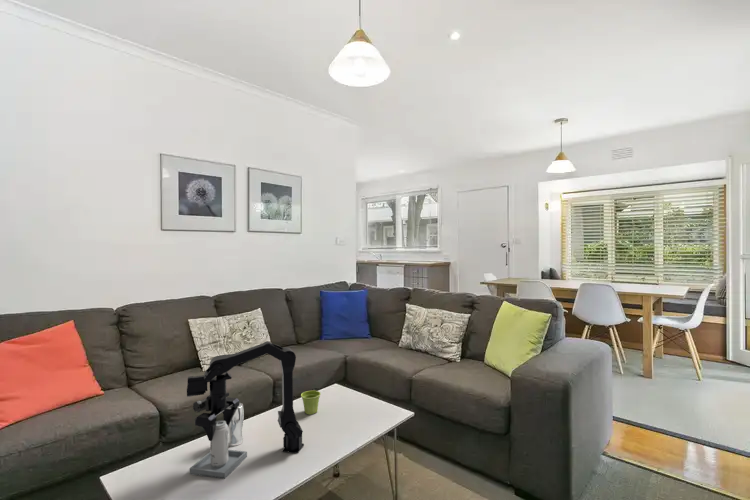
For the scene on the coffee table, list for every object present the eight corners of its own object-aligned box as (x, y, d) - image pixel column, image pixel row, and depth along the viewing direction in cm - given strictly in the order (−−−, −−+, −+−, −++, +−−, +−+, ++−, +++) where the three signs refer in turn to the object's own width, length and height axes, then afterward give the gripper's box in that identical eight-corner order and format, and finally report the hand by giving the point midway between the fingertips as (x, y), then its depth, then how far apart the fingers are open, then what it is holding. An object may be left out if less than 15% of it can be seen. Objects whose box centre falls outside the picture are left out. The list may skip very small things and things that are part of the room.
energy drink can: (210, 461, 140) (210, 421, 140) (228, 457, 142) (227, 418, 142) (210, 470, 134) (210, 428, 134) (228, 465, 137) (228, 424, 137)
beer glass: (238, 447, 151) (237, 410, 151) (222, 445, 152) (221, 408, 152) (247, 438, 157) (246, 403, 157) (232, 437, 159) (231, 401, 159)
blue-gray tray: (246, 456, 144) (246, 451, 144) (224, 478, 130) (224, 473, 130) (214, 453, 147) (214, 447, 147) (189, 474, 133) (189, 468, 133)
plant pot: (319, 416, 178) (318, 397, 178) (299, 416, 178) (299, 398, 178) (322, 407, 187) (322, 390, 187) (303, 407, 187) (303, 390, 187)
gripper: (214, 381, 149) (215, 421, 149) (180, 400, 131) (181, 445, 131) (240, 383, 147) (240, 423, 147) (209, 402, 128) (209, 448, 129)
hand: (218, 434), depth 138 cm, fingers open, 9 cm apart
